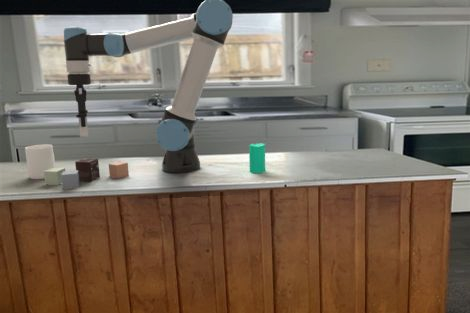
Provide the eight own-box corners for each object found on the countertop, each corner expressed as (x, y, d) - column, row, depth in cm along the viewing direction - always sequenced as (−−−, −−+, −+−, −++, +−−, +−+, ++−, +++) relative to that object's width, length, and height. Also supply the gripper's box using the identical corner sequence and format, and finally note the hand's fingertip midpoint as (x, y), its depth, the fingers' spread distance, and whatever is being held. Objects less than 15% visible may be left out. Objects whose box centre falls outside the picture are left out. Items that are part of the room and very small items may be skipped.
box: (91, 181, 147) (89, 162, 146) (76, 181, 149) (74, 161, 147) (100, 177, 153) (98, 158, 152) (85, 177, 154) (83, 158, 153)
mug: (24, 180, 152) (19, 149, 150) (39, 172, 164) (35, 143, 161) (49, 179, 152) (45, 148, 150) (62, 171, 164) (59, 142, 161)
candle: (267, 170, 158) (267, 139, 156) (261, 173, 153) (261, 142, 150) (253, 169, 161) (252, 138, 158) (247, 172, 155) (246, 141, 153)
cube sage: (66, 181, 149) (65, 168, 148) (58, 185, 144) (56, 171, 143) (54, 181, 150) (52, 167, 149) (45, 184, 145) (43, 171, 144)
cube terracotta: (128, 175, 155) (127, 162, 154) (117, 178, 151) (116, 165, 150) (120, 173, 158) (119, 161, 157) (109, 176, 155) (108, 163, 154)
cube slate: (79, 183, 145) (78, 170, 144) (78, 187, 141) (76, 173, 140) (64, 185, 144) (63, 171, 143) (62, 189, 139) (61, 174, 138)
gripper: (91, 73, 133) (96, 137, 138) (89, 73, 156) (93, 128, 160) (66, 73, 131) (72, 139, 135) (68, 73, 153) (73, 129, 158)
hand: (84, 133), depth 148 cm, fingers open, 13 cm apart
